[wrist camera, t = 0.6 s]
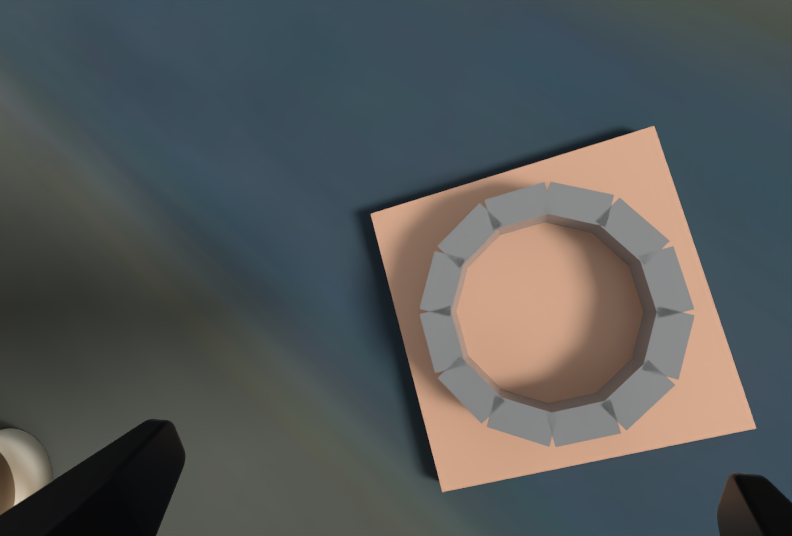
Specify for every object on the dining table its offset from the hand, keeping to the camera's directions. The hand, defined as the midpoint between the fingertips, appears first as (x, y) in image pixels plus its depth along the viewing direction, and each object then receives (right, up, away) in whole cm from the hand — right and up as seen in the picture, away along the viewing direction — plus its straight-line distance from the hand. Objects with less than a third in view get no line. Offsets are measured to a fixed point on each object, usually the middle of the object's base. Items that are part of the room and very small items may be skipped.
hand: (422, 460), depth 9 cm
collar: (+6, +1, +14) cm, 15 cm away
